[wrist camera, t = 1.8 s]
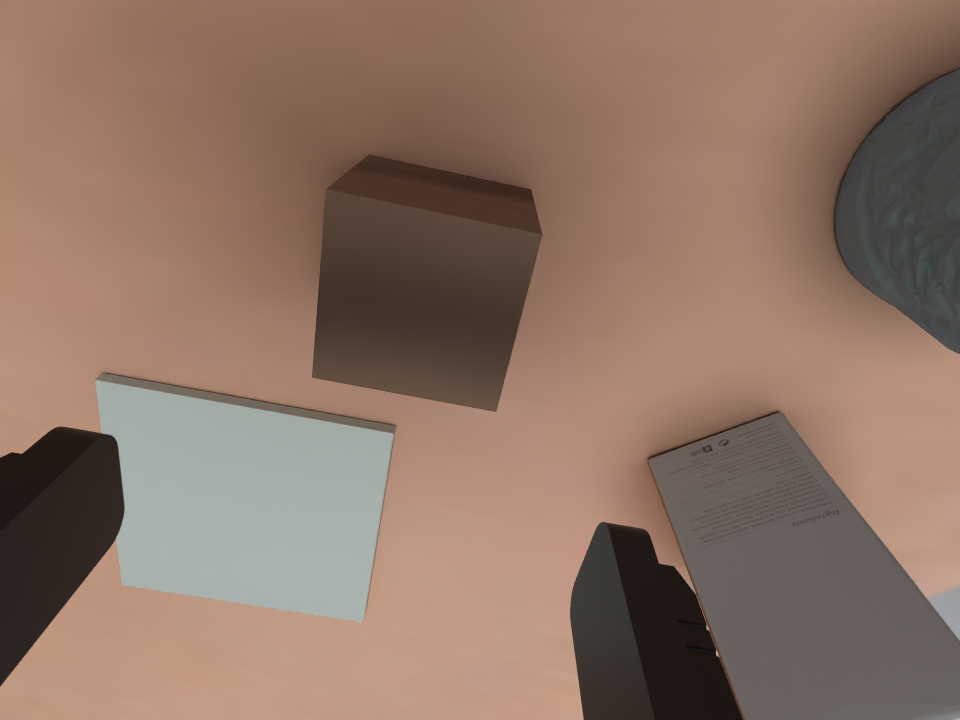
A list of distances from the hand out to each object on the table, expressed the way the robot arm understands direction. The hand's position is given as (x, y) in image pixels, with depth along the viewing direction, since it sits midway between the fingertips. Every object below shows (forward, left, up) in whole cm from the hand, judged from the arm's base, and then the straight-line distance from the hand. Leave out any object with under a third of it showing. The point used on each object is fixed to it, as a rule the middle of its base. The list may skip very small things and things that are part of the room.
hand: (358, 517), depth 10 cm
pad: (+15, -7, -14) cm, 22 cm away
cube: (0, 0, -15) cm, 15 cm away
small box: (+9, +16, -15) cm, 23 cm away
